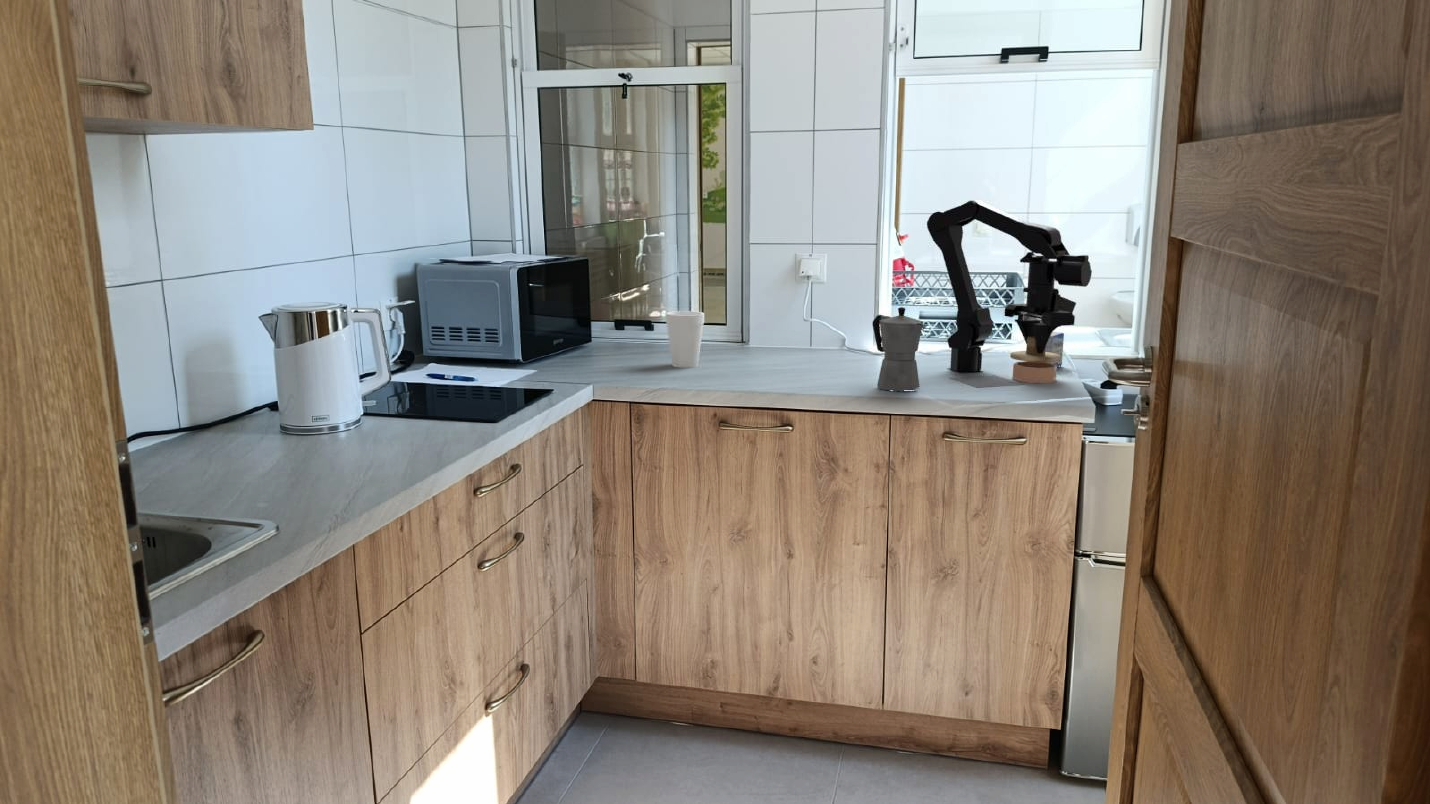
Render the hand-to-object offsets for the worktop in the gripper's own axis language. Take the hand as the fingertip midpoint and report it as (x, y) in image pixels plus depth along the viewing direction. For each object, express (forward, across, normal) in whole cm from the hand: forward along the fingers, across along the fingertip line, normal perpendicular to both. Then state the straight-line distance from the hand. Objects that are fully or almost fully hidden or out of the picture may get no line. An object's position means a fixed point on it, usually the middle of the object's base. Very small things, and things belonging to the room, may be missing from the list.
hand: (1035, 352), depth 232 cm
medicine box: (+7, +15, -14) cm, 22 cm away
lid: (+1, 0, 0) cm, 1 cm away
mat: (+7, +1, +12) cm, 14 cm away
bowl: (+7, 0, 0) cm, 7 cm away
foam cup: (+7, +43, +71) cm, 83 cm away
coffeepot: (+7, +3, +34) cm, 35 cm away
